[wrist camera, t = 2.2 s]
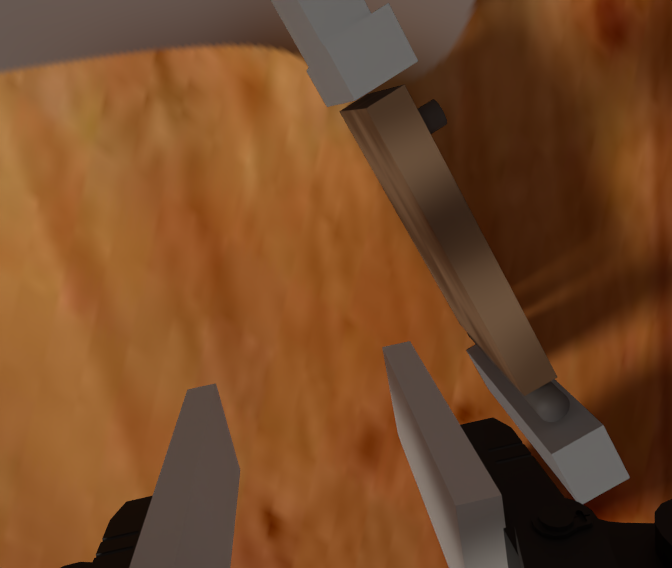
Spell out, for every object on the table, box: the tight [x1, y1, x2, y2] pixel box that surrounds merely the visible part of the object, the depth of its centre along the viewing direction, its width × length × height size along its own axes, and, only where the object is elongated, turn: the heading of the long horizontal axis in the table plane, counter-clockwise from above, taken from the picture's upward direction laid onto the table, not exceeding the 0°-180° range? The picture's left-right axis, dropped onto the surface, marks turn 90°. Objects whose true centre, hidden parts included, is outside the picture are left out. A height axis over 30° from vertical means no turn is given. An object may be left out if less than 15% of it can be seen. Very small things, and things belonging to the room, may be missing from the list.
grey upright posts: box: [271, 0, 630, 504], centre depth 26 cm, size 25×2×11 cm, turn 31°
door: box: [340, 85, 570, 422], centre depth 27 cm, size 15×3×9 cm, turn 31°
